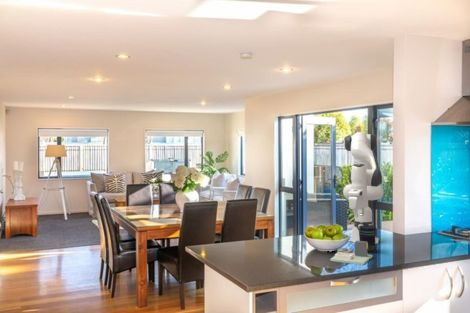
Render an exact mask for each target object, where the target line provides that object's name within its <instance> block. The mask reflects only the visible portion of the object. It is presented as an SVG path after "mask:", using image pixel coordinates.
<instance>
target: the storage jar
mask: <svg viewBox="0 0 470 313" xmlns="http://www.w3.org/2000/svg"><path fill="white" fill-rule="evenodd" d="M376 229H377V228H376V226H374V225H373V226H368V225H363V226H359V240H360V241H367V243H368V248H367V251H368V254H374V253H376V252H377V249H376V248H377V246H376V245H377V244H376V243H375V236H376V234H377V231H376ZM376 237H377V236H376Z"/></svg>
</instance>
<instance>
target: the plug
mask: <svg viewBox="0 0 470 313" xmlns="http://www.w3.org/2000/svg"><path fill="white" fill-rule="evenodd" d="M367 248H368V243H367V241H355V243H354V253H355V256H360V257H367V256H368V255H369V253H368V251H367Z"/></svg>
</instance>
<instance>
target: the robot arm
mask: <svg viewBox="0 0 470 313" xmlns="http://www.w3.org/2000/svg"><path fill="white" fill-rule="evenodd" d="M343 139H344V140H343V147H344V149H345V150H346V151H347V152H350V153H351V156H352V157H353V164H352V166H351V171H350V172H349V174H348V175H349V176H348V177H349V181H348V182H349V184H345V186H344V187H343V189H342V194H343V197H344V198H345V199H346V200H348V206H349V210H352V212H353V217H354V221H353V226H354V227H353V228H351V238H349V242H352V243H354V244H355V241H360V240H359V226H363V225H368V226H374V222H373V211H372V209H371V207H370V206H369V201H376V200H381V199H382V198H383V196H384V188H383V187H382V183H383V180H384V179H383V173H382V172H381V169H380V166H379V162H378V158H377V156H376V153H375V150H376V149H377V148H378V147H379V139H378V136H377V134H374V133H364V132H361V131H357V132H355V133H354V134H352V135H347V136H345V137H344V138H343ZM375 243H376V245H378V244H379V237H377V236H375Z"/></svg>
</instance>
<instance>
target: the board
mask: <svg viewBox="0 0 470 313" xmlns="http://www.w3.org/2000/svg"><path fill="white" fill-rule="evenodd" d="M372 258H373V255H372V254H368V256H367V257H360V256H355V252H354V250H353V249H351V248H342V247H341V248H339V249H337V251H336V253H335V254H334V255H333V256H332V257H331V258H330V259H329V260H330V261H331V262H337V263H344V264H352V265H353V264H354V265H362V266H363V265H365V264H366V263H367V262H369V259H370V260H371V259H372Z"/></svg>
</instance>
